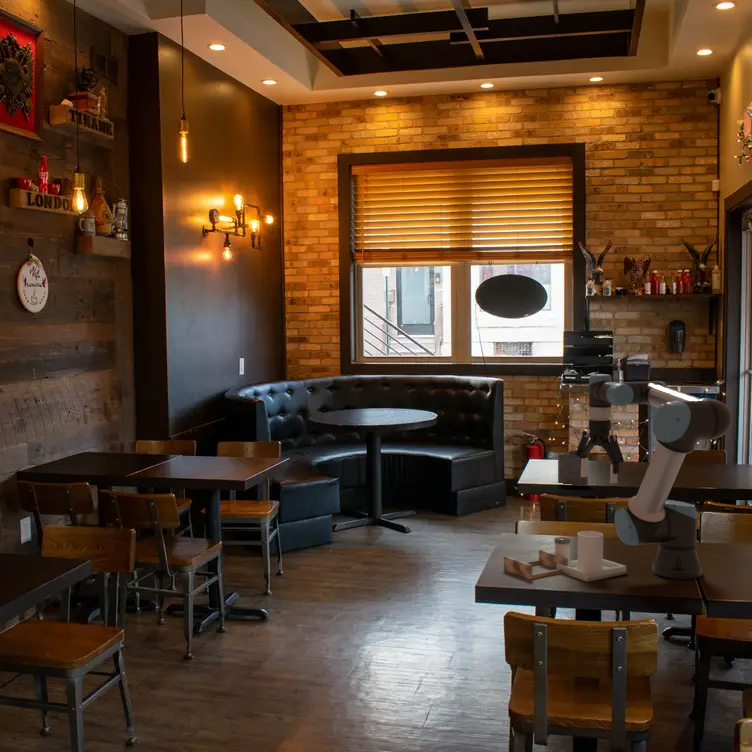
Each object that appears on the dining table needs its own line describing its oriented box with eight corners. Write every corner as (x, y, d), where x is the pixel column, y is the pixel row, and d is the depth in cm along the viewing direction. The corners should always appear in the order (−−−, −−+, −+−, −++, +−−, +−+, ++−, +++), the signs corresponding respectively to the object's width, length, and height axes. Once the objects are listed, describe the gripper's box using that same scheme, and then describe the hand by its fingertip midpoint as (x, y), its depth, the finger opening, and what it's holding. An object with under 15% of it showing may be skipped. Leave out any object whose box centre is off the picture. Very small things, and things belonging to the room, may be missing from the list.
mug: (579, 562, 300) (580, 527, 299) (606, 565, 297) (606, 529, 296) (574, 572, 289) (575, 535, 288) (602, 574, 286) (602, 537, 285)
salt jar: (573, 566, 299) (573, 539, 299) (561, 568, 297) (561, 541, 296) (562, 562, 304) (562, 536, 303) (551, 564, 301) (551, 538, 301)
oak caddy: (567, 571, 293) (567, 558, 293) (529, 579, 285) (529, 565, 285) (541, 562, 304) (541, 549, 304) (503, 569, 296) (503, 556, 296)
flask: (588, 487, 437) (588, 450, 435) (557, 486, 440) (558, 449, 438) (587, 485, 440) (588, 449, 439) (557, 485, 443) (558, 448, 442)
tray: (626, 573, 291) (626, 566, 290) (587, 581, 282) (587, 574, 282) (595, 563, 303) (595, 556, 302) (556, 571, 294) (556, 563, 294)
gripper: (635, 422, 301) (634, 484, 303) (581, 414, 322) (580, 473, 324) (620, 423, 297) (618, 487, 299) (565, 416, 318) (565, 475, 320)
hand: (598, 479), depth 311 cm, fingers open, 13 cm apart
